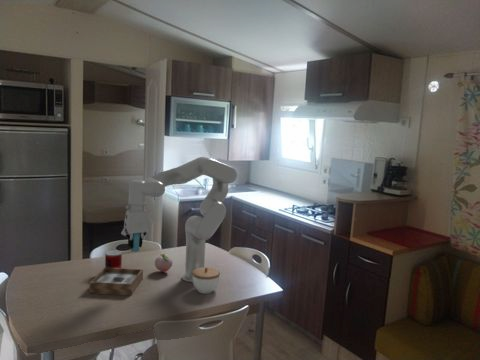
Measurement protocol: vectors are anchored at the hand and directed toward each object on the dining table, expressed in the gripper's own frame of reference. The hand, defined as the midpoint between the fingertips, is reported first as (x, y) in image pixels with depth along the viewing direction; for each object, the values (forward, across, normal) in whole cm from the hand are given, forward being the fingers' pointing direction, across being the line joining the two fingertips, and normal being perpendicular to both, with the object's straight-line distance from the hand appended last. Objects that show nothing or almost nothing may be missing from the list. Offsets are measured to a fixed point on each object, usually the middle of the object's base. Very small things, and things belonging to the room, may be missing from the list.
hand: (135, 246), depth 177 cm
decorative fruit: (+20, +21, +10) cm, 31 cm away
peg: (+2, 0, 0) cm, 2 cm away
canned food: (+20, 0, +22) cm, 30 cm away
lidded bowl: (+19, +26, -20) cm, 38 cm away
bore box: (+20, -4, +7) cm, 22 cm away
